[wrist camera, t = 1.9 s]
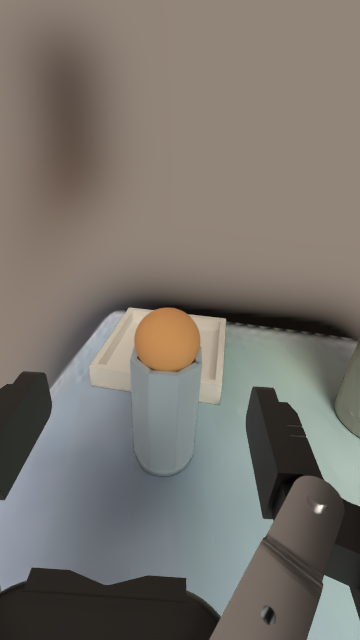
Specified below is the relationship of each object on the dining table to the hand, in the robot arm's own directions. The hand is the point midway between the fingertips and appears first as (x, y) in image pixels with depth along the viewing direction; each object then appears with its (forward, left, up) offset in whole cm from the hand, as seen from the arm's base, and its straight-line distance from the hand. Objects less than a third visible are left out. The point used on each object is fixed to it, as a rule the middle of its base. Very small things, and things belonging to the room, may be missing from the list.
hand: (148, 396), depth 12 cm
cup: (-6, -10, -18) cm, 21 cm away
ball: (-6, -10, -5) cm, 12 cm away
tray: (-13, -24, -18) cm, 32 cm away
